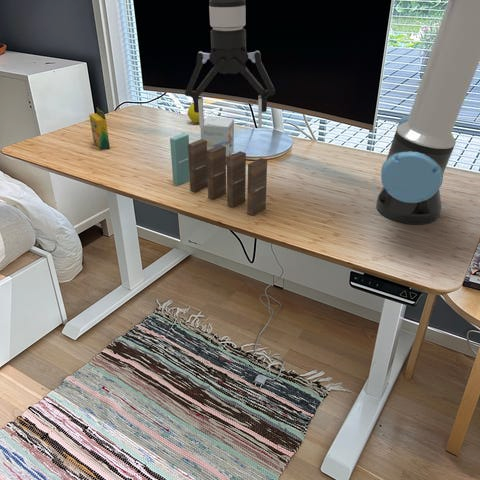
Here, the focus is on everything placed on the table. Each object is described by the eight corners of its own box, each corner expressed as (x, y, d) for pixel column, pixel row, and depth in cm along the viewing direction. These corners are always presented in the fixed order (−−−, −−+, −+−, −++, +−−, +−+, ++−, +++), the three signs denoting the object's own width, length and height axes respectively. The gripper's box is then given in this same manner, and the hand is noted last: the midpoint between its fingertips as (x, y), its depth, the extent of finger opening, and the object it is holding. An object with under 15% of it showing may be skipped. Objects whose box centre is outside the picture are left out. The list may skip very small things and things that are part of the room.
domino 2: (208, 186, 131) (206, 140, 124) (195, 192, 128) (193, 146, 121) (203, 184, 132) (201, 138, 125) (190, 190, 129) (187, 144, 122)
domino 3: (226, 193, 128) (225, 146, 121) (213, 200, 124) (212, 152, 118) (221, 191, 129) (220, 144, 122) (208, 198, 125) (206, 150, 119)
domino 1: (191, 179, 135) (188, 134, 128) (178, 185, 132) (174, 139, 125) (186, 178, 136) (183, 133, 129) (173, 183, 133) (169, 138, 126)
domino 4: (245, 201, 124) (246, 153, 117) (232, 208, 121) (232, 159, 114) (239, 198, 125) (240, 151, 118) (227, 205, 122) (226, 157, 115)
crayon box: (93, 143, 158) (87, 108, 152) (102, 142, 159) (97, 106, 153) (101, 150, 153) (95, 114, 147) (110, 148, 154) (105, 112, 148)
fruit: (190, 126, 173) (189, 104, 169) (186, 121, 177) (185, 99, 173) (205, 125, 174) (204, 102, 170) (201, 120, 179) (200, 98, 175)
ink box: (228, 164, 144) (228, 126, 138) (200, 162, 145) (199, 124, 139) (234, 154, 151) (234, 116, 145) (208, 152, 153) (206, 114, 146)
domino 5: (265, 208, 121) (267, 159, 114) (253, 216, 117) (254, 166, 110) (259, 206, 122) (261, 157, 115) (247, 213, 118) (247, 164, 112)
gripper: (286, 24, 105) (283, 120, 116) (172, 26, 106) (180, 121, 117) (287, 29, 99) (284, 130, 110) (166, 31, 100) (175, 131, 111)
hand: (230, 125), depth 114 cm, fingers open, 13 cm apart
